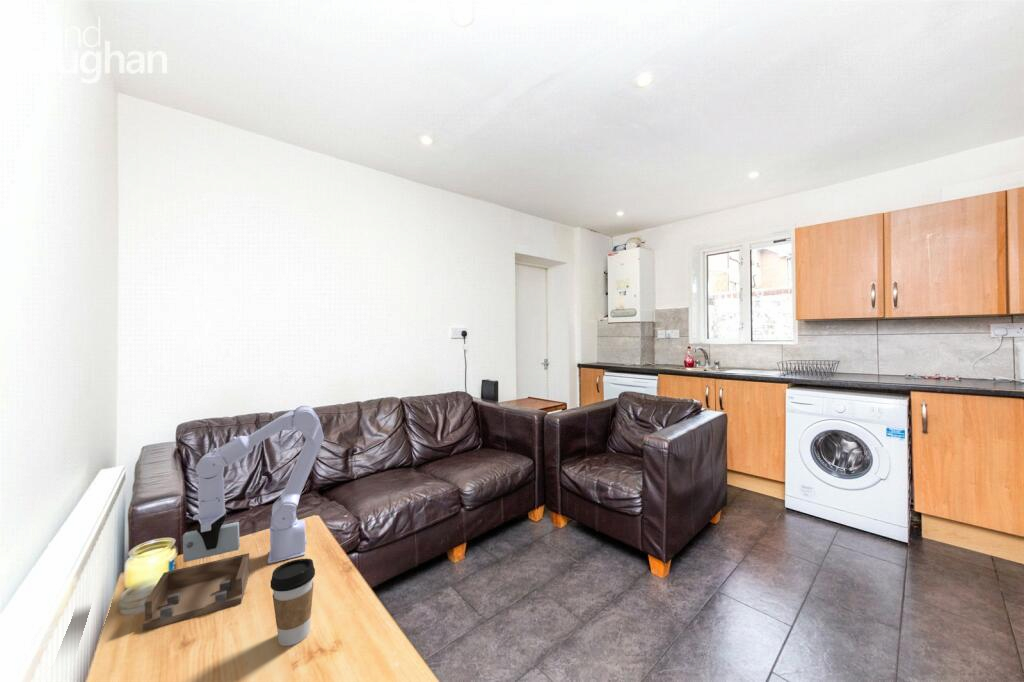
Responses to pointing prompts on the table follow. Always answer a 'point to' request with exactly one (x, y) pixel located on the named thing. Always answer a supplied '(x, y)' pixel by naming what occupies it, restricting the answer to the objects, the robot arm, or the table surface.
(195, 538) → the door
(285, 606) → the coffee cup
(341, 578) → the table surface
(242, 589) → the cabinet
